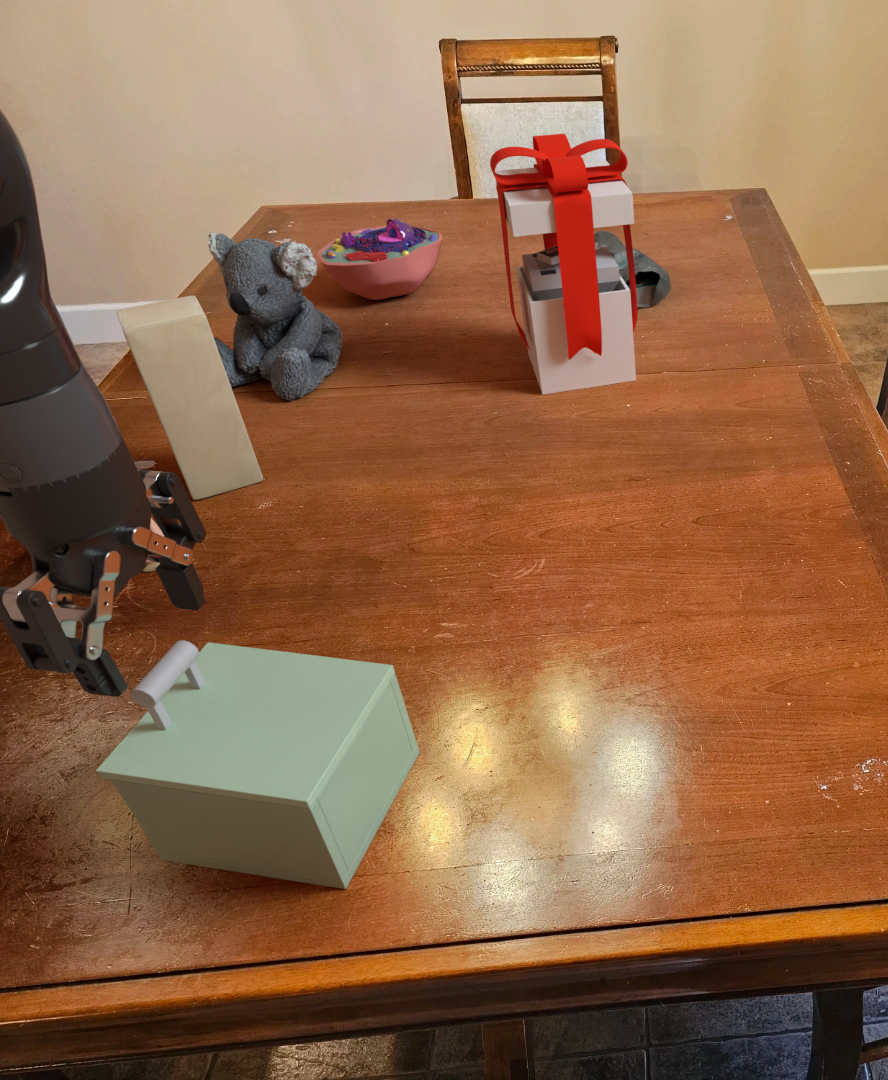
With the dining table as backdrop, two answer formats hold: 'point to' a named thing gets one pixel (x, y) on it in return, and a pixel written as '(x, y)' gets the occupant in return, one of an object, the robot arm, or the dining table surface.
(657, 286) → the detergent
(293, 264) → the koala plush
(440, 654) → the dining table surface
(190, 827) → the compartment
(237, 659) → the lid
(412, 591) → the dining table surface
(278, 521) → the dining table surface
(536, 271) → the white gift box
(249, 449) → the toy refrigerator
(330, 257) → the cell model
